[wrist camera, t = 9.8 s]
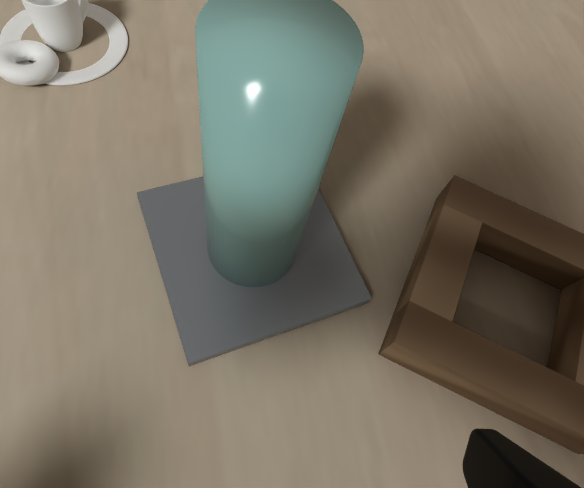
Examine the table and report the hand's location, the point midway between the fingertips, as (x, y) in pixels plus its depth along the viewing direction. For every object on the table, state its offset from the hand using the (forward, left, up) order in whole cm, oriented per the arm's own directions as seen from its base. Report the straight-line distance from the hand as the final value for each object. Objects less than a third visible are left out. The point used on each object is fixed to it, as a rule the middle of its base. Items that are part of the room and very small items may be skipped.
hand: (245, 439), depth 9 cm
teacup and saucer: (+29, +5, -14) cm, 33 cm away
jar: (+10, -4, -13) cm, 17 cm away
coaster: (+10, -4, -14) cm, 17 cm away
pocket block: (+2, -16, -14) cm, 21 cm away
